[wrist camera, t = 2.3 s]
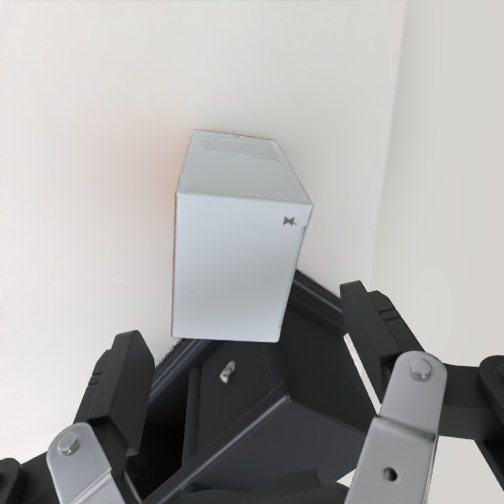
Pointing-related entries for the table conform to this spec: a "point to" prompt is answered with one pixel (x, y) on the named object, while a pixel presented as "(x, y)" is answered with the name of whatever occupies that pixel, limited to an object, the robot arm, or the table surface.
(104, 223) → the table surface
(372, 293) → the robot arm
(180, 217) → the small box
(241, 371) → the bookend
